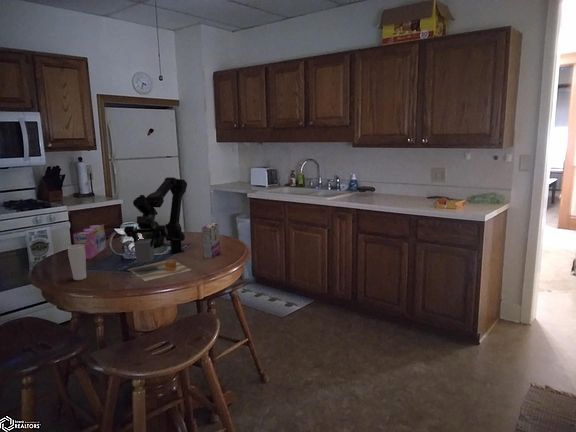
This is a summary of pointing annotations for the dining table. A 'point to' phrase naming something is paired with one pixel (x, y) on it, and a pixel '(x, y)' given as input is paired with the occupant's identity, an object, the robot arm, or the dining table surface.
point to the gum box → (91, 239)
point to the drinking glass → (77, 261)
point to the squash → (149, 236)
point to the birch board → (156, 270)
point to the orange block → (170, 265)
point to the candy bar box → (211, 240)
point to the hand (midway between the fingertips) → (143, 246)
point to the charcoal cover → (144, 250)
